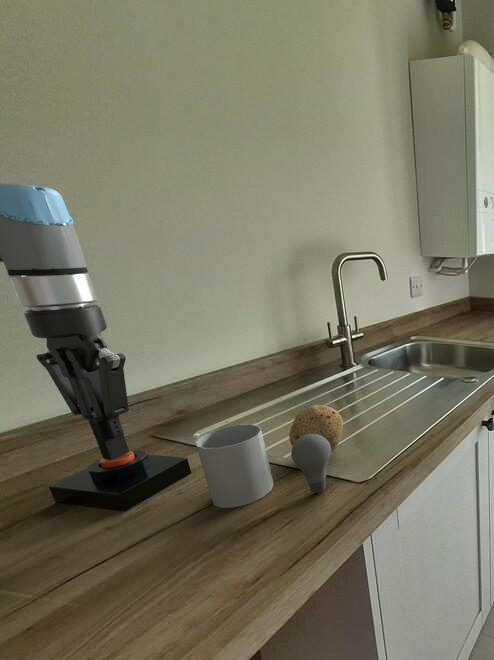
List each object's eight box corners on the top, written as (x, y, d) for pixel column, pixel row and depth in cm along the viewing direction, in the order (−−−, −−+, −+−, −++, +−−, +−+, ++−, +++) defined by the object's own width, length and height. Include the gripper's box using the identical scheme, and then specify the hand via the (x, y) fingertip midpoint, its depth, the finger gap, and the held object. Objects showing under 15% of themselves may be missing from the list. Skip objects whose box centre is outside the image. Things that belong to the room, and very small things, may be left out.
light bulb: (344, 484, 67) (335, 429, 64) (324, 504, 62) (313, 445, 59) (314, 481, 68) (303, 426, 65) (291, 500, 63) (279, 442, 60)
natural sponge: (292, 472, 71) (281, 419, 68) (295, 449, 79) (286, 401, 76) (348, 461, 75) (340, 410, 71) (346, 441, 82) (338, 394, 79)
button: (96, 473, 64) (92, 461, 64) (123, 460, 68) (119, 449, 67) (117, 475, 64) (113, 463, 63) (143, 462, 67) (139, 451, 67)
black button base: (55, 503, 63) (43, 474, 61) (130, 466, 73) (121, 441, 72) (124, 511, 61) (114, 482, 59) (191, 473, 71) (184, 447, 69)
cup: (199, 500, 63) (182, 442, 60) (249, 474, 71) (236, 421, 67) (237, 512, 60) (220, 452, 57) (285, 484, 68) (273, 429, 64)
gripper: (128, 303, 60) (173, 447, 67) (57, 302, 62) (109, 441, 70) (67, 311, 53) (125, 470, 60) (-10, 309, 55) (55, 463, 63)
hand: (116, 455), depth 65 cm, fingers closed
